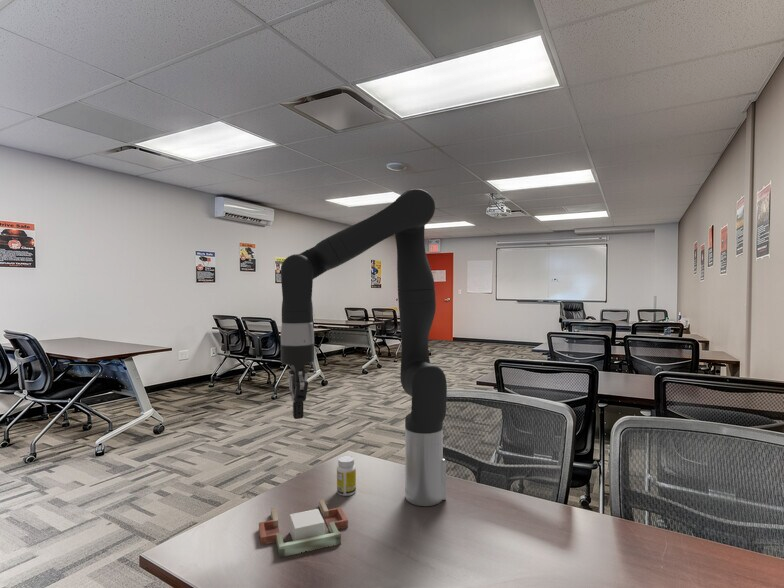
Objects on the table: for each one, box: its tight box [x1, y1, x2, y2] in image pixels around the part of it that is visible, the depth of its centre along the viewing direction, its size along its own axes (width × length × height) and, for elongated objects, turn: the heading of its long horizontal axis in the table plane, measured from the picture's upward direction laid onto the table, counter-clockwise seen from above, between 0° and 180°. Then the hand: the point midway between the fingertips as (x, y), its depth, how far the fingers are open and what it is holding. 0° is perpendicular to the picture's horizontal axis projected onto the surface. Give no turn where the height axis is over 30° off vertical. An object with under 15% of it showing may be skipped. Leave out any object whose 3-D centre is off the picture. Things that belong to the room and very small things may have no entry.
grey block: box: [289, 508, 326, 541], centre depth 89 cm, size 6×6×4 cm
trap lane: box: [258, 498, 349, 558], centre depth 92 cm, size 18×17×2 cm
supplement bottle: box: [336, 455, 357, 497], centre depth 109 cm, size 5×5×8 cm
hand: (298, 417), depth 99 cm, fingers closed
